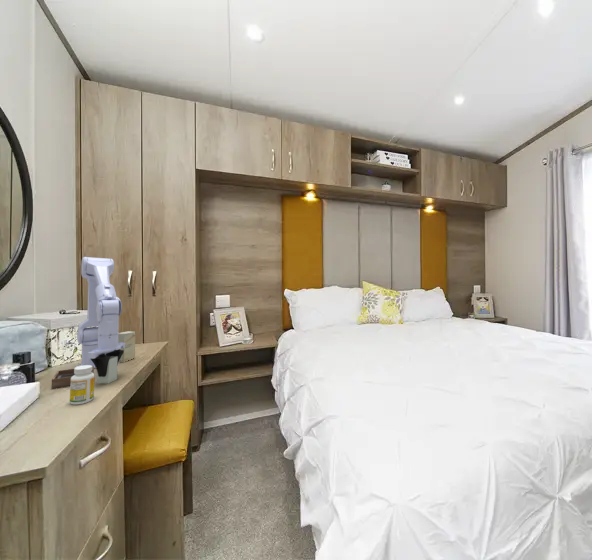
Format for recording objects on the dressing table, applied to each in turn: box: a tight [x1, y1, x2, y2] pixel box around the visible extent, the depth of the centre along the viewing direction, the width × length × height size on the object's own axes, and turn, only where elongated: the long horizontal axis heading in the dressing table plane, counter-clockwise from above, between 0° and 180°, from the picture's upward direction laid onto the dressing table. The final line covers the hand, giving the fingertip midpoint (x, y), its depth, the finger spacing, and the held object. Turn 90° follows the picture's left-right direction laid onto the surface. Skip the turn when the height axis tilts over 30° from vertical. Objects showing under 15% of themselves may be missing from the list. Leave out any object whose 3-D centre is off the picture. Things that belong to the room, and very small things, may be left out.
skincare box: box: [118, 330, 136, 363], centre depth 114 cm, size 6×4×12 cm
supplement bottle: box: [69, 365, 96, 406], centre depth 75 cm, size 5×5×10 cm
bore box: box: [51, 366, 95, 390], centre depth 89 cm, size 10×10×3 cm
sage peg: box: [96, 356, 118, 384], centre depth 90 cm, size 4×4×8 cm
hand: (107, 374), depth 90 cm, fingers closed on sage peg, 4 cm apart
